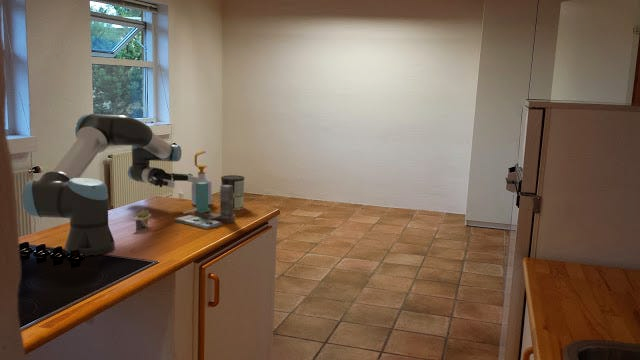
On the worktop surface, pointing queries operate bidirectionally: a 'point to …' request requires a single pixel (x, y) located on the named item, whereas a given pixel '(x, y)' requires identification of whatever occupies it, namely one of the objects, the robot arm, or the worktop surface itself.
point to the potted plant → (142, 219)
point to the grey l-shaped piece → (222, 207)
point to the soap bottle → (201, 179)
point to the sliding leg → (201, 198)
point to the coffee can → (235, 189)
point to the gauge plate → (198, 222)
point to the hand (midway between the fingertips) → (186, 182)
